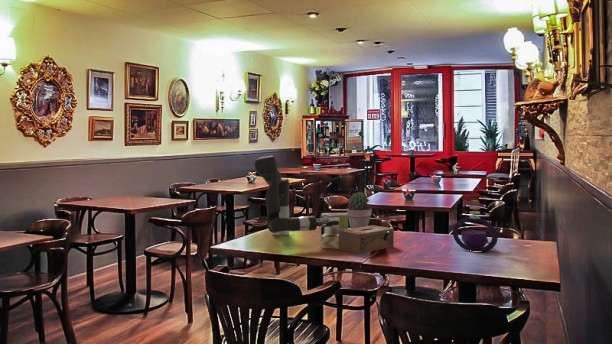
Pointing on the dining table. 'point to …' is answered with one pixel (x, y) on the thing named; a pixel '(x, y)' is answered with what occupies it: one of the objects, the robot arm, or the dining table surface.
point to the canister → (335, 228)
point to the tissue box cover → (365, 239)
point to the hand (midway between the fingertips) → (335, 221)
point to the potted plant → (359, 210)
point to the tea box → (342, 221)
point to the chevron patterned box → (330, 241)
